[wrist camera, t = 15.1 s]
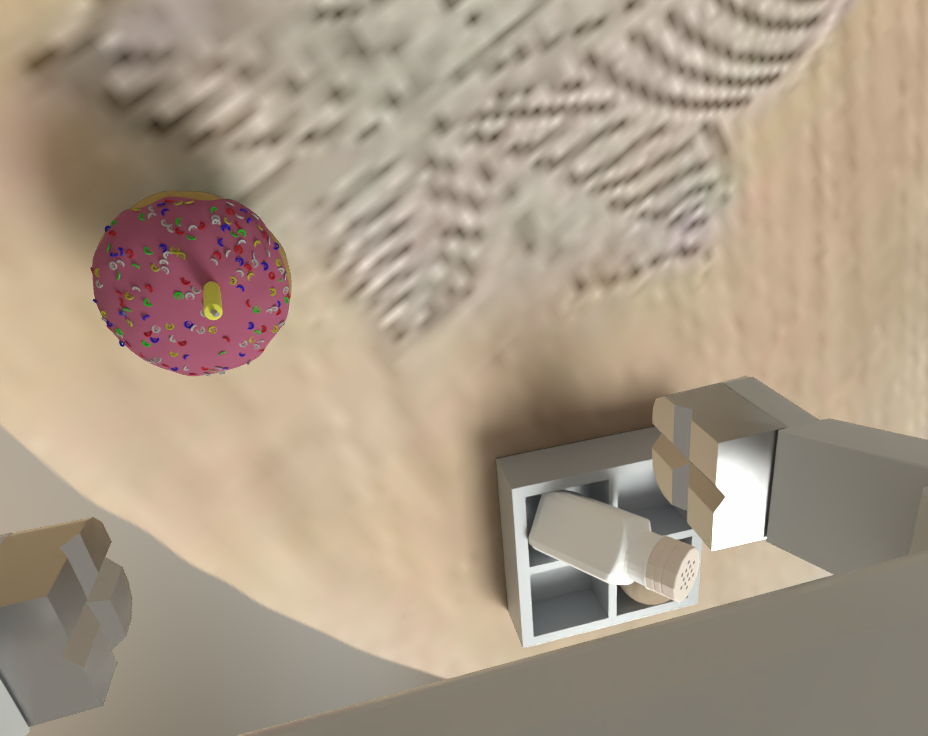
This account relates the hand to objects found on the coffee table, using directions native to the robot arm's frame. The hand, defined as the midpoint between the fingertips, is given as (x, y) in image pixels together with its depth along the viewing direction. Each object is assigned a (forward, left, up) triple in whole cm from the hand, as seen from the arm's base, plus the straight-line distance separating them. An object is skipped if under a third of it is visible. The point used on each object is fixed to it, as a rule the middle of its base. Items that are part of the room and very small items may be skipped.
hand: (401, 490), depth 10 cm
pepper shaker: (-10, +21, -25) cm, 34 cm away
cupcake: (+7, +2, -27) cm, 28 cm away
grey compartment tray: (-14, +24, -27) cm, 39 cm away
